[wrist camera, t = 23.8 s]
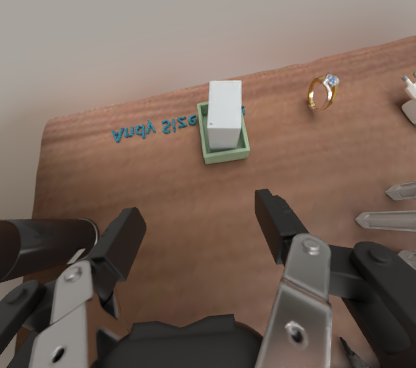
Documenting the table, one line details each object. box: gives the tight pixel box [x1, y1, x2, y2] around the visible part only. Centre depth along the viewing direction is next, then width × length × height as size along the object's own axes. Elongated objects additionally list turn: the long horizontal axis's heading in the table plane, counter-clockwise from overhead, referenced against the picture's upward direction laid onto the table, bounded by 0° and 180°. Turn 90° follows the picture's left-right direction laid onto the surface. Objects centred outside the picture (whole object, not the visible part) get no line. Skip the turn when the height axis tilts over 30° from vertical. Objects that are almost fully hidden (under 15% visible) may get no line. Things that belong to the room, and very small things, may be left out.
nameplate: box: [111, 106, 245, 142], centre depth 40 cm, size 37×1×5 cm
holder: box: [197, 101, 250, 164], centre depth 36 cm, size 10×14×4 cm
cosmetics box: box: [207, 80, 241, 153], centre depth 32 cm, size 10×6×10 cm, turn 177°
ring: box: [308, 73, 339, 112], centre depth 34 cm, size 7×3×8 cm, turn 9°
